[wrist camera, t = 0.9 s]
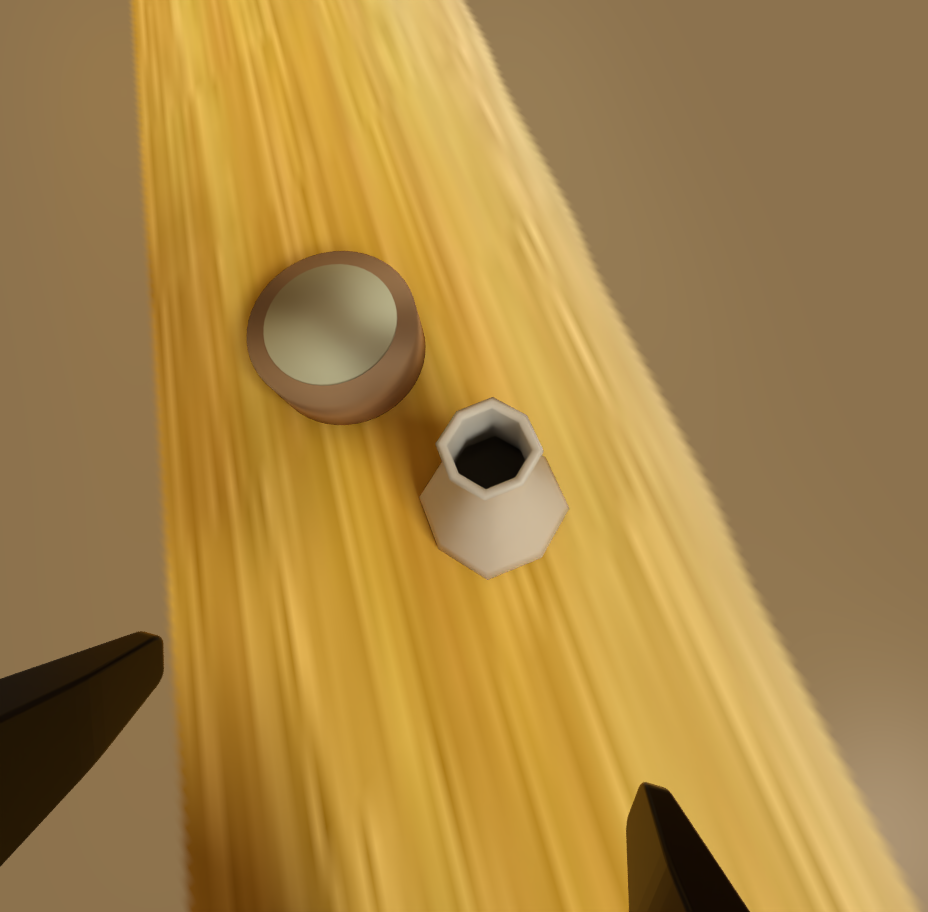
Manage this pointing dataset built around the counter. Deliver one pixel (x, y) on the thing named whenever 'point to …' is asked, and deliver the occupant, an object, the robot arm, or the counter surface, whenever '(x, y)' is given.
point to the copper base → (337, 337)
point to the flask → (492, 491)
